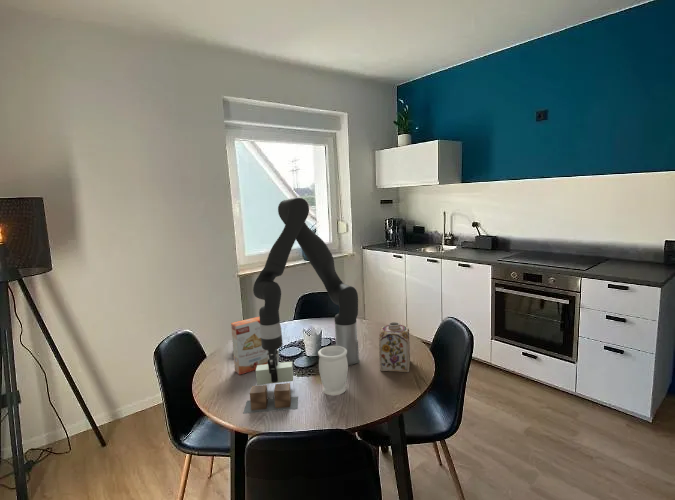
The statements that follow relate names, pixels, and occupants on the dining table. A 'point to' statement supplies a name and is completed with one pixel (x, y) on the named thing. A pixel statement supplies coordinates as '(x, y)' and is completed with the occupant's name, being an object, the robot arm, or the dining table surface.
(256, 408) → the pillar
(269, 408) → the mat
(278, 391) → the pillar
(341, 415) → the dining table surface
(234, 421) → the dining table surface
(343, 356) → the jar
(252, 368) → the cracker box
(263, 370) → the plank
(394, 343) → the decorative jar
